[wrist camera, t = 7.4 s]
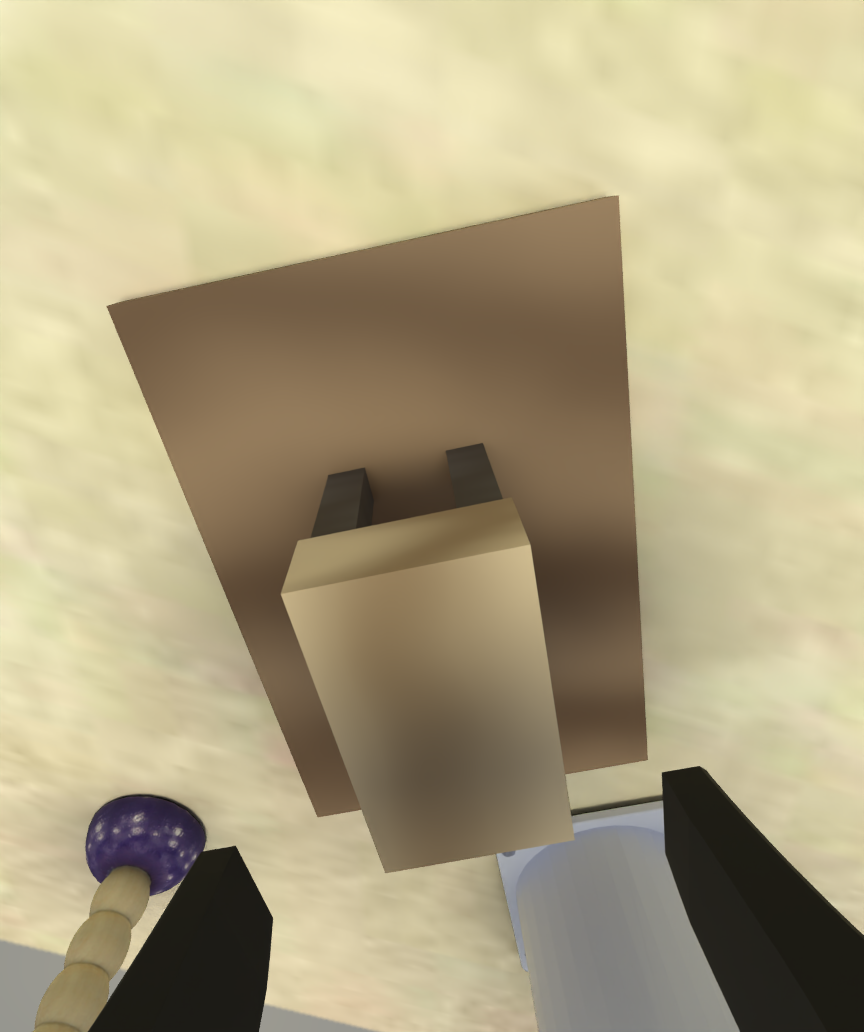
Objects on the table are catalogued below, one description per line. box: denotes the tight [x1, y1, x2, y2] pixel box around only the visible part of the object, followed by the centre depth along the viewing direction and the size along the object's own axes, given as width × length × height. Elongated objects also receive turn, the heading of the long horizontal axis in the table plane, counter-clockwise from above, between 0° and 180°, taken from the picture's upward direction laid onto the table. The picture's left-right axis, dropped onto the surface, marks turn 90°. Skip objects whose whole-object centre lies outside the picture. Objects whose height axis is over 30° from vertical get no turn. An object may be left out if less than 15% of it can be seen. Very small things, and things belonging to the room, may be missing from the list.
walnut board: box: [107, 196, 648, 817], centre depth 18 cm, size 18×12×1 cm, turn 11°
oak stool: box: [281, 443, 575, 873], centre depth 15 cm, size 4×8×6 cm, turn 11°
